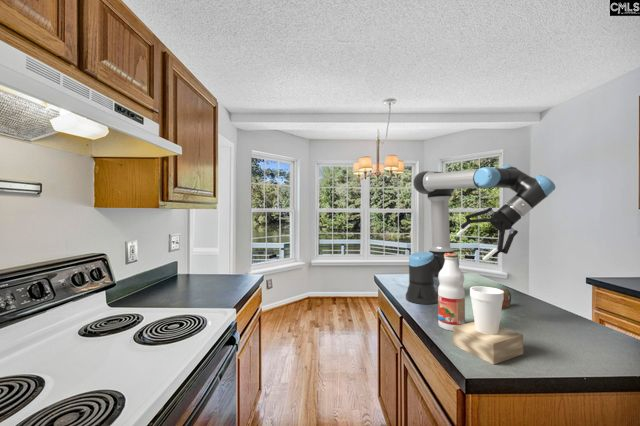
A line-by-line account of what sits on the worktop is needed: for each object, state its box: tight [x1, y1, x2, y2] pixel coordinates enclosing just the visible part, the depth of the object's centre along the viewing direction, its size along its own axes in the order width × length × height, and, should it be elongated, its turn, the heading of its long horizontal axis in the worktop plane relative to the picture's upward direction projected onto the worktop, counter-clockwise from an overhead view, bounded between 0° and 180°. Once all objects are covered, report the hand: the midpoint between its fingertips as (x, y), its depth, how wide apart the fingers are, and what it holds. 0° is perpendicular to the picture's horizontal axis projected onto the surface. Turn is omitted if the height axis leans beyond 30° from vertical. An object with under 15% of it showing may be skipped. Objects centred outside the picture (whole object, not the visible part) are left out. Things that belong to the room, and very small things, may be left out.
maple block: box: [452, 321, 524, 365], centre depth 94 cm, size 14×14×6 cm
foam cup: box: [469, 285, 504, 335], centre depth 94 cm, size 10×9×13 cm
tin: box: [499, 288, 512, 310], centre depth 134 cm, size 15×3×8 cm, turn 117°
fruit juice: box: [437, 252, 466, 332], centre depth 112 cm, size 9×9×28 cm
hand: (469, 247), depth 118 cm, fingers open, 13 cm apart
